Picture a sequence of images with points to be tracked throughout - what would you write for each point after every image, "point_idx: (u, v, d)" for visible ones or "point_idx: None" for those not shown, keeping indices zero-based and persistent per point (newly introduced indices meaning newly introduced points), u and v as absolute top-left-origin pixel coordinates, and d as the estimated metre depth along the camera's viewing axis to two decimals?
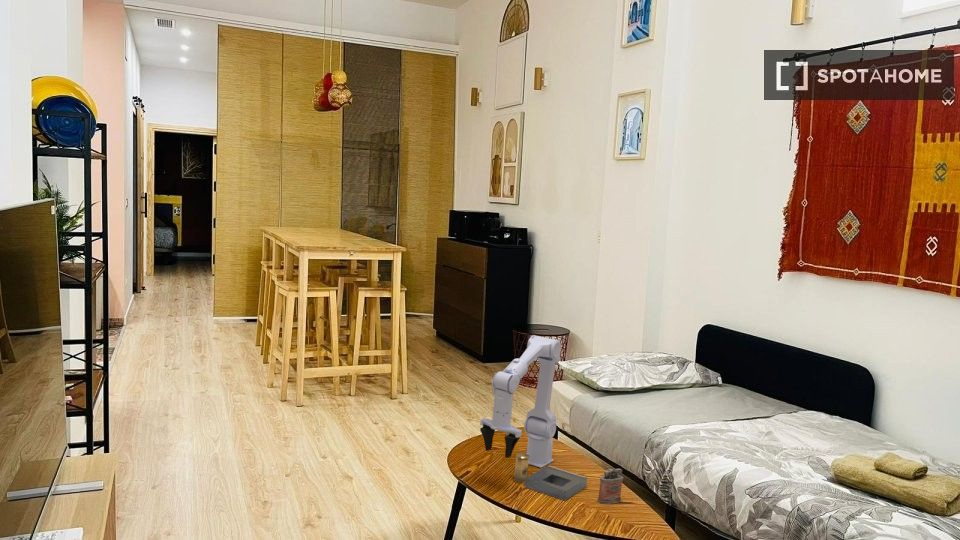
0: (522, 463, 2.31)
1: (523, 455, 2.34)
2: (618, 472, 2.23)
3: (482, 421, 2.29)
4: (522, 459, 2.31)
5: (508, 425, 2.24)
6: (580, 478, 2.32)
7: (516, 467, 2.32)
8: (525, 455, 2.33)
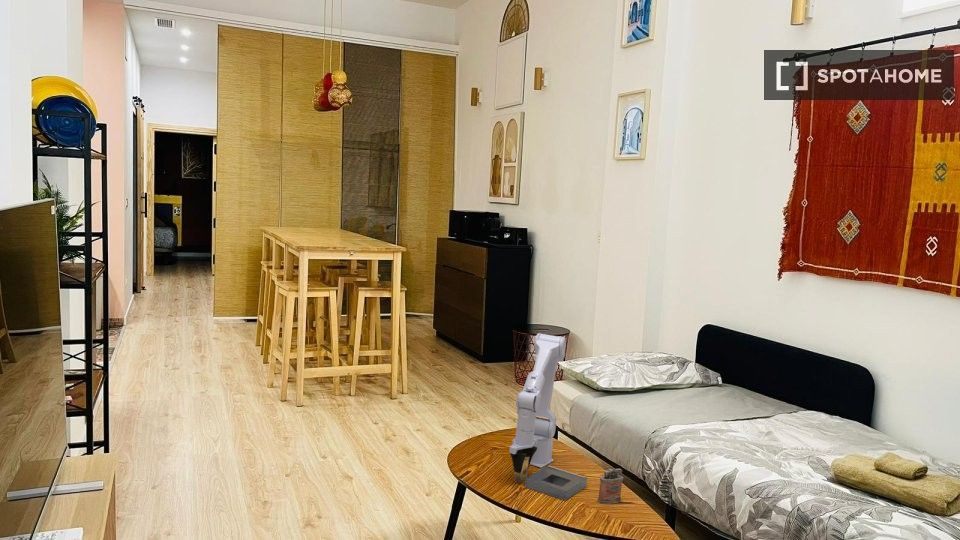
0: None
1: None
2: (618, 472, 2.23)
3: None
4: None
5: (519, 442, 2.30)
6: (580, 478, 2.32)
7: None
8: None
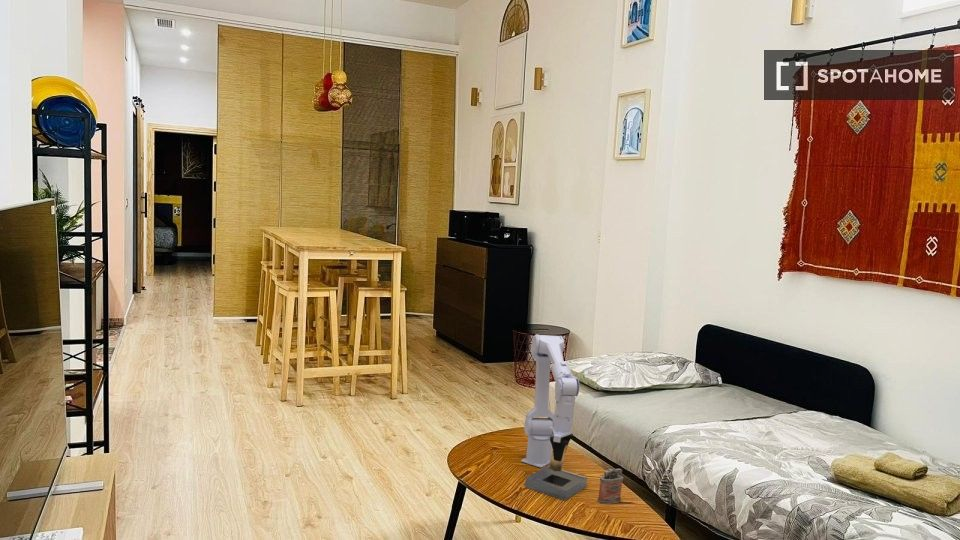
0: None
1: None
2: (618, 472, 2.23)
3: None
4: None
5: (560, 430, 2.24)
6: (580, 478, 2.32)
7: (553, 456, 2.26)
8: None
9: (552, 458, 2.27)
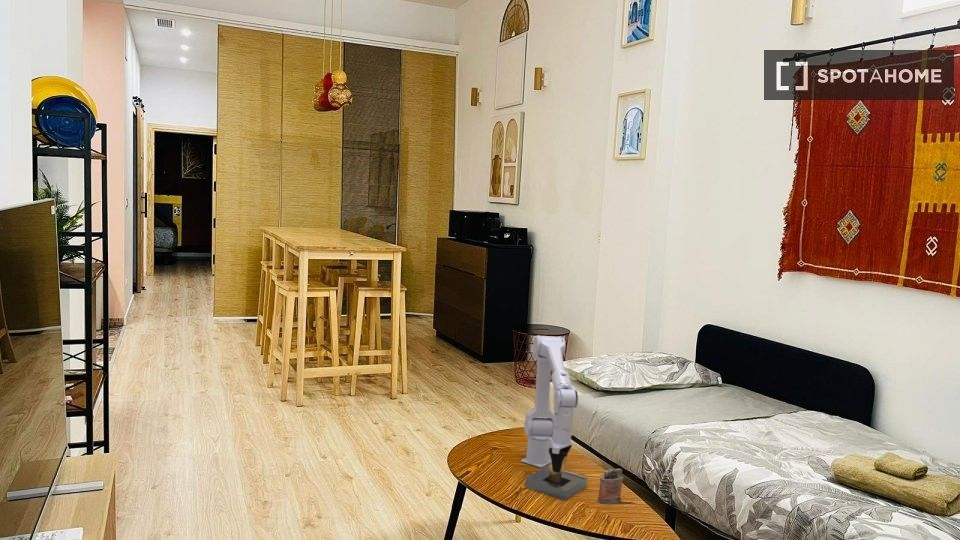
0: None
1: None
2: (618, 472, 2.23)
3: None
4: None
5: (559, 441, 2.24)
6: (580, 478, 2.32)
7: None
8: None
9: (551, 469, 2.27)
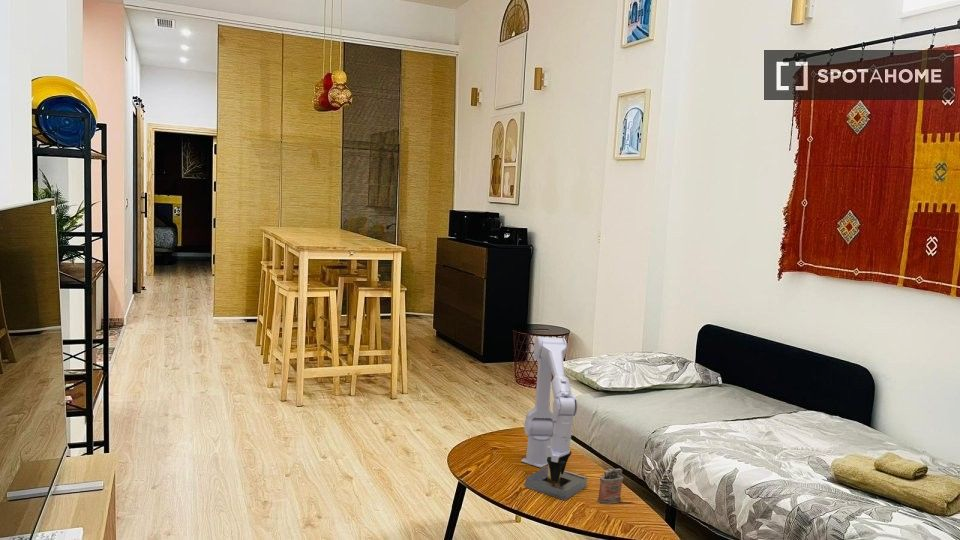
0: None
1: None
2: (618, 472, 2.23)
3: None
4: None
5: (558, 449, 2.25)
6: (580, 478, 2.32)
7: (549, 477, 2.27)
8: None
9: (549, 479, 2.27)
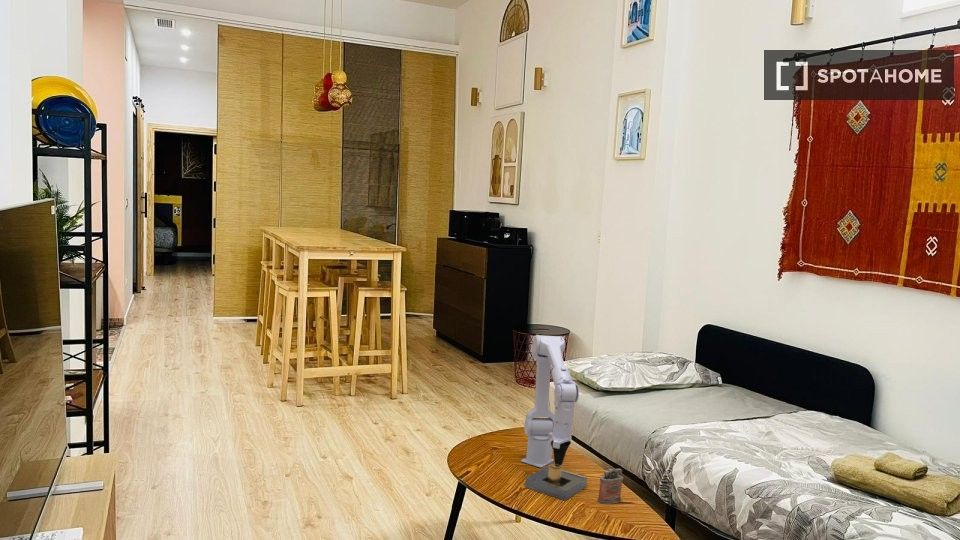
0: (557, 472, 2.26)
1: None
2: (618, 472, 2.23)
3: None
4: (557, 468, 2.26)
5: (559, 436, 2.24)
6: (580, 478, 2.32)
7: (550, 477, 2.27)
8: None
9: (549, 479, 2.27)
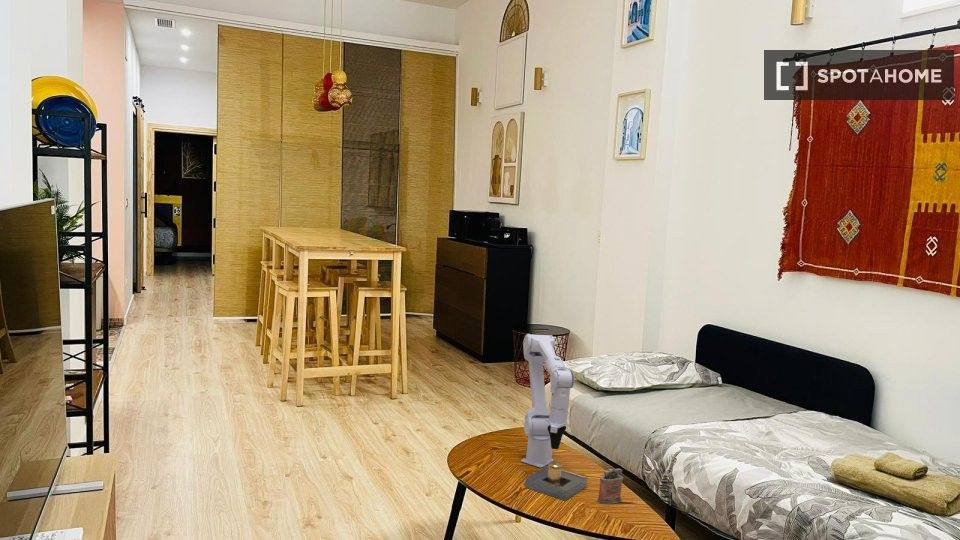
0: (557, 472, 2.26)
1: (556, 463, 2.29)
2: (618, 472, 2.23)
3: None
4: (557, 468, 2.26)
5: (556, 421, 2.32)
6: (580, 478, 2.32)
7: (550, 477, 2.27)
8: (557, 463, 2.29)
9: (549, 479, 2.27)
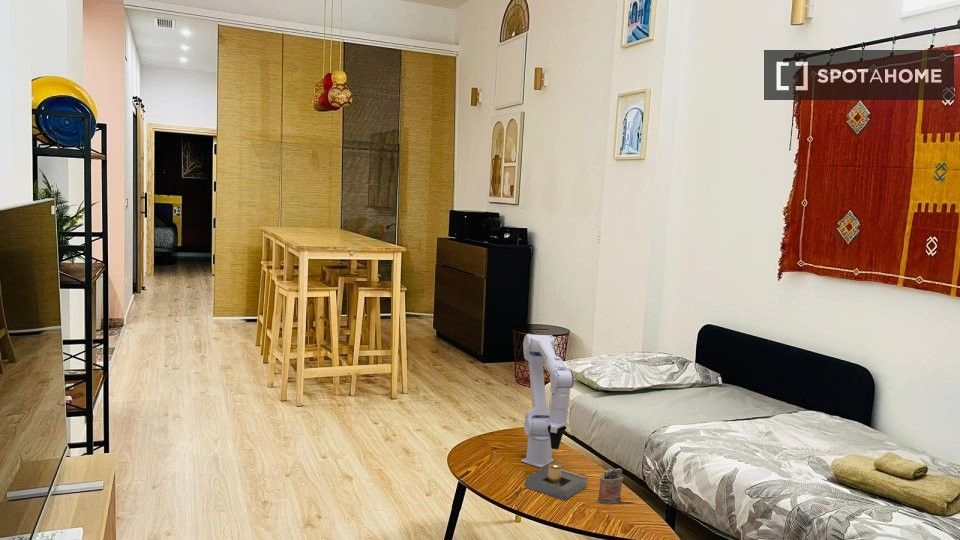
0: (557, 472, 2.26)
1: (556, 463, 2.29)
2: (618, 472, 2.23)
3: None
4: (557, 468, 2.26)
5: (556, 421, 2.32)
6: (580, 478, 2.32)
7: (550, 477, 2.27)
8: (557, 463, 2.29)
9: (549, 479, 2.27)
